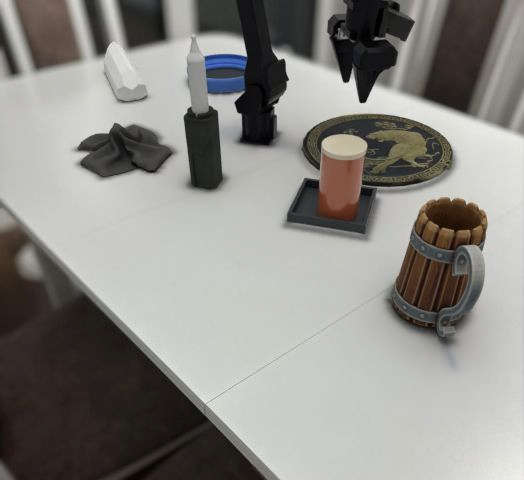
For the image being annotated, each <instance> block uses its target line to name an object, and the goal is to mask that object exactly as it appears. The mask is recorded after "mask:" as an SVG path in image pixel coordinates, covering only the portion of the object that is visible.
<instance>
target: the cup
mask: <svg viewBox="0 0 524 480" xmlns="http://www.w3.org/2000/svg"><path fill="white" fill-rule="evenodd" d="M366 152H367V143H366V142H365V141H364V140H363V139H361V138H359V137H357V136H353V135H347V134H339V135H332V136H329V137H327V138H325V139H324V140H323V141H322V145H321V163H320V171H319V177H318V180H319V190H318V203H317V213H318V215H319V216H320V217H326V218H333V219H339V220H345V221H352V220H353V219H355V218H356V216H357V214H358V208H359V201H360V194H361V186H363V185H362V179H363V172H364V165H365V158H366Z"/></svg>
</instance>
